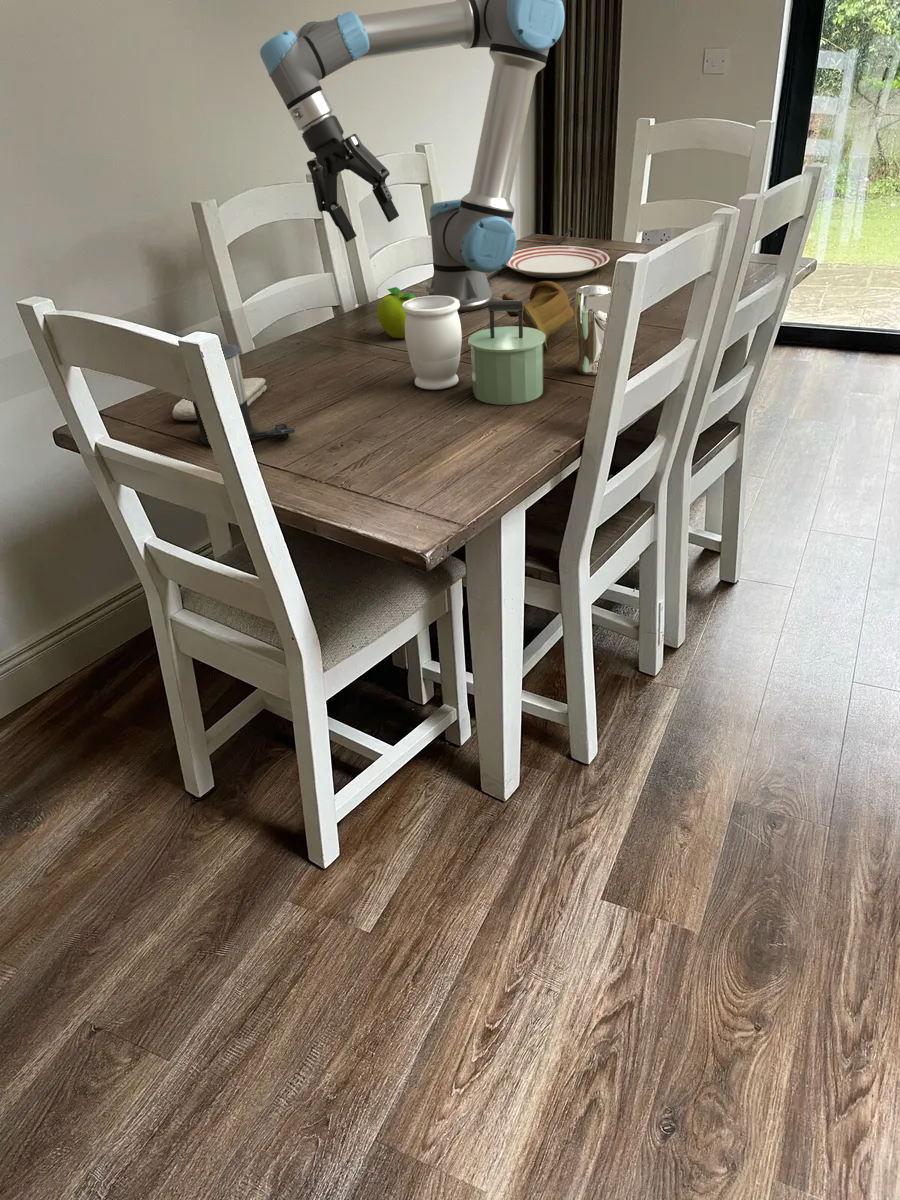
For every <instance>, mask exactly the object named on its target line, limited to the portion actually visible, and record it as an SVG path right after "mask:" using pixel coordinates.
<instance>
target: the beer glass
mask: <svg viewBox="0 0 900 1200" xmlns="http://www.w3.org/2000/svg"><path fill="white" fill-rule="evenodd" d="M611 288H613V287H612V286H610V285H605V284H587V285H582V286H580V287H578V288H576V293H575V294H576V295H575V305H574V322H575V330H576V337H577V343H578V360H577V363H576V364H577V365H576V371H577V373H579V374H581V375H584V376H597V375H596V373H597V367H598V362H599V358H600V353H601V349H602V344H603V338H604V331H605V324H606V318H607V312H608V306H609V301H610V295H611Z"/></svg>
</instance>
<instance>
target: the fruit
mask: <svg viewBox="0 0 900 1200" xmlns="http://www.w3.org/2000/svg"><path fill="white" fill-rule="evenodd" d="M386 290H387V291H388V292H389V293H388V294H386V295H384V297H383V298H382V299H381V300H380V302H378V305H377V307H376V316H377V320H378V322H379V324H380V326H381V328H382V329H383V330H384V331H385V333H386V334H388V335H389V336H390V337H391V338H394V339H400V340H401V339H402V340H403V339H405V320H406V313H405V312H404V310H403V303H404V302H406V301H408V300H410V299H413V298H417V296H416V294H415V293H413V292H407V293H405V292H401V289H400V288H399V287H397V286H394V287H391V288H386Z"/></svg>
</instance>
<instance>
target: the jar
mask: <svg viewBox="0 0 900 1200" xmlns="http://www.w3.org/2000/svg"><path fill="white" fill-rule="evenodd" d="M459 307H460V303H459V300H458V299H457V298H454V297H450V296H429V295H424V296H423V295H422V296H418V297H415V298H413V299H410V300H408V301H406V302H404V303H403V310H404V312H405V313H406V320H405V338H404V339H405V345H406V350H407V354H408V357H409V363H410V365H411V368H412V370H413V372H414V375H416V376H415V378H414V384H415V385H414V386H416V387H417V388H420V389H423V390H431V391H432V390H433V391H435V390H437V391H438V390H445V389H449V388H452V387H454V386H456V385H457V384H458V383H459V380H460V379H459V377H458V374H457V372H458V369H459V366H460V361H461V349H462V342H463V341H462V339H463V337H462V335H463V333H462V325H461V319H460V315H459V312H457V310H458V309H459Z"/></svg>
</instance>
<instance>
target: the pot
mask: <svg viewBox="0 0 900 1200" xmlns="http://www.w3.org/2000/svg"><path fill="white" fill-rule="evenodd" d="M470 357H471V358H470V359H471V378H472V392H473V393H472V394H473V396H474V398H475V399H476V400H478V401H480V402H482V403H485V404H491V405H497V406H498V405H501V406H502V405H503V406H506V405H518V404H525V403H528V402H532V401H535V400H536V399H539V398H540V397H541V396H542V395H543V394H544V387H545V385H544V379H545V378H544V353H543V344H541V345H539V346H537V347H535V348H532V349H528V350H524V351H518V352H505V353H497V352H486V351H481V350H477V349H475V348H473V347H471V346H470Z"/></svg>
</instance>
